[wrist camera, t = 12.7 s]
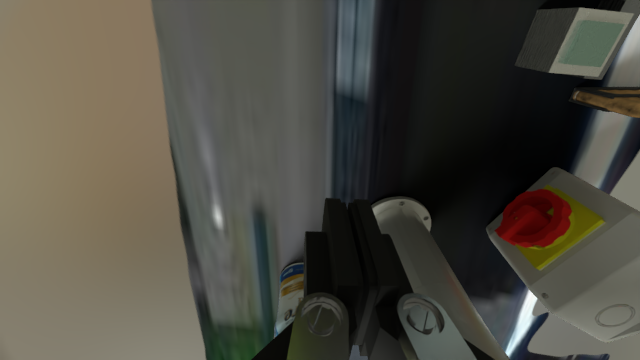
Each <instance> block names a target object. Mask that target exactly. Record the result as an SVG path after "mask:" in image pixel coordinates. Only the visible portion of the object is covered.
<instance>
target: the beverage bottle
mask: <svg viewBox="0 0 640 360" xmlns="http://www.w3.org/2000/svg"><path fill="white" fill-rule="evenodd" d="M303 298H304V263H295V264H292V265H290V266H288V267H286V268H285V269H284V270H283V271H282V273H281V276H280V292H279V303H278V314H277V321H276V323H275V329H274V333H275V337H276V336H277V335H278V334H280V333H281V332H282V331H283V330H284V329H285V328H286V327H287V326H288V325H289V324H290V323H291V322H293V321H294V318H295V313H296V309H297V307H298V304H299V303H300V302H301V300H302V299H303Z"/></svg>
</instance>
